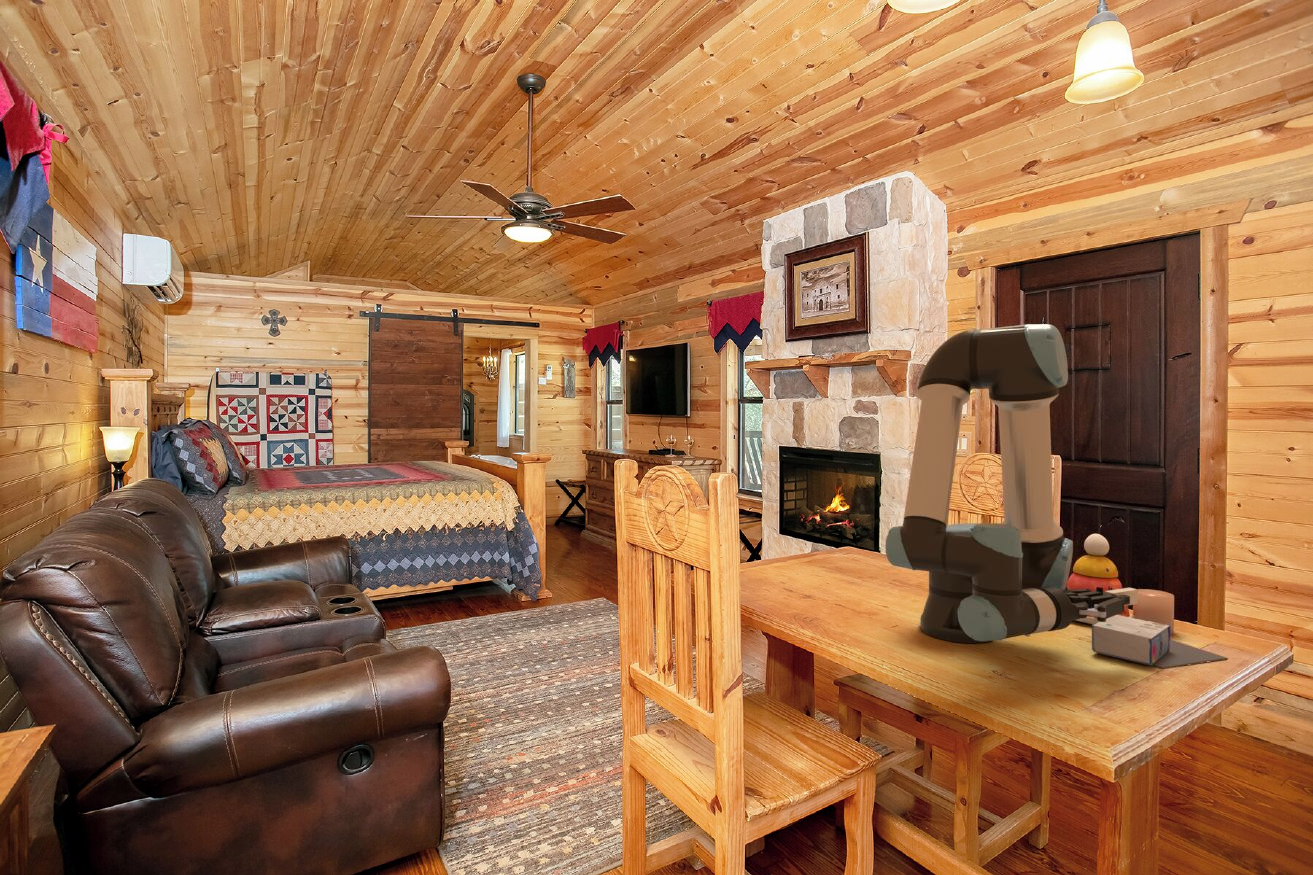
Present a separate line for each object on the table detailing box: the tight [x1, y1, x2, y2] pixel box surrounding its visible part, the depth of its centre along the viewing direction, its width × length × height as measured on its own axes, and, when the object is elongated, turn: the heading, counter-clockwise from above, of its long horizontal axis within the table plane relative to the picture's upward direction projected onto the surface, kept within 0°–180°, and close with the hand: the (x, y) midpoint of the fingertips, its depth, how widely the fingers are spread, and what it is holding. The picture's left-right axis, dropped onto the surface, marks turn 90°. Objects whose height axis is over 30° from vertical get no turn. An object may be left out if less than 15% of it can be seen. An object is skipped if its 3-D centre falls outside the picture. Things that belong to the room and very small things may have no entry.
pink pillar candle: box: [1132, 588, 1175, 636], centre depth 141 cm, size 7×7×8 cm
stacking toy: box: [1066, 533, 1133, 626], centre depth 149 cm, size 14×14×20 cm
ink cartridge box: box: [1091, 615, 1171, 666], centre depth 129 cm, size 10×6×14 cm
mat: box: [1152, 638, 1229, 670], centre depth 128 cm, size 12×16×1 cm
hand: (1133, 595), depth 124 cm, fingers closed
